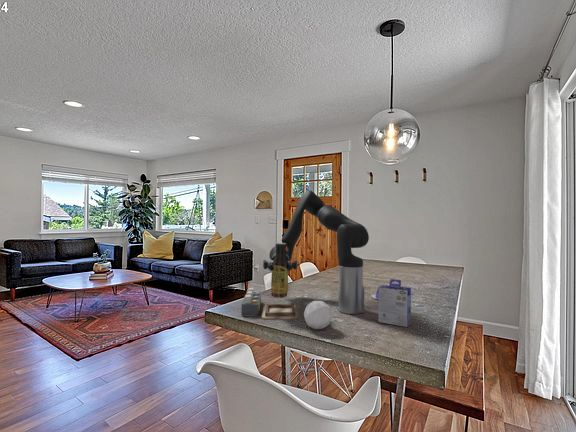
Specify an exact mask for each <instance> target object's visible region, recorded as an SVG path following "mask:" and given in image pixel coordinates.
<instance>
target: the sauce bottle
mask: <svg viewBox="0 0 576 432" xmlns="http://www.w3.org/2000/svg"><path fill="white" fill-rule="evenodd" d="M275 246H276V255H275V258H274V260H273V264H272V271H271V283H270V292H271V293H270V295H271V297H273V298H277V299H278V298H280V299H282V298H286V297H287V296H288V292H289V291H288V289H289V271H288V260H287V258H286V251H287V247H286V243H282V242H276V243H275Z"/></svg>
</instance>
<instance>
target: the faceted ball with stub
mask: <svg viewBox="0 0 576 432" xmlns="http://www.w3.org/2000/svg"><path fill="white" fill-rule="evenodd" d="M303 316H304V320H305V323H306V324H307V325H308V327H310V328H312V329H314V330H315V329H316V330H323V329H324V328H326V327H328V326H329V325H330V323H331V320H332V317H333V314H332V312H331V309H330V306H329V305H328V304H327V303H326V302H324V301H323V300H313V301H311V302H310V303H308V304H307V305H306V307H305V309H304V312H303Z"/></svg>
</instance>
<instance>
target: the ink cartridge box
mask: <svg viewBox="0 0 576 432" xmlns="http://www.w3.org/2000/svg"><path fill="white" fill-rule="evenodd" d="M393 282H396V283H393ZM401 284H402V280H401V279H394V278H393V279H392V278H391V279H390V281H389V285H387V284H382V285H379V286H380V287H379V286H378V287H379V299H378V303H377V304H378V305H377V306H378V307H377V309H378V312H377V313H378V314H377V315H378V316H377V317H378V318H377V322H378V323H382V324H389V325H393V326H394V325H395V326H398V327H403V328H404V327H405V328H408V327H409V326H410V325H411V324H412V305H411V304H412V297H411V296H412V287H408V286H406V287H405V286H402V285H401Z"/></svg>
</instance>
